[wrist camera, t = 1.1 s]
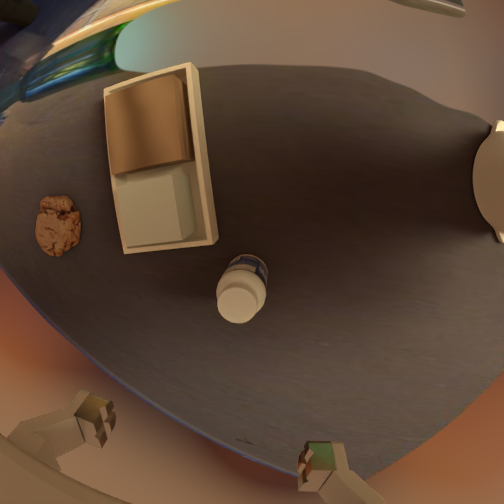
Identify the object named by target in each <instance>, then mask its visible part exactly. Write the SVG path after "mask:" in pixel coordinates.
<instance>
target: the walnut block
mask: <svg viewBox="0 0 504 504" xmlns="http://www.w3.org/2000/svg"><path fill="white" fill-rule="evenodd" d="M105 105H106V123H107V136H108V147H109V156H110V165H111V173H112V175H118V174H132V173H136V172H141V171H145V170H150V169H155V168H159V167H164V166H169V165H174V164H180V163H185V162H191V161H195V155H194V146H193V138H192V129H191V121H190V111H189V102H188V92H187V85H186V84H184V83H183V82H182V81H181V80H180V79H178V78H177V77H176V76H175V75H174V74H172V75H169V76H165V77H161V78H158V79H154V80H151V81H148V82H144V83H141V84H138V85H135V86H132V87H129V88H126V89H123V90H120V91H117V92H115V93H112V94H109V95H107V96H105Z"/></svg>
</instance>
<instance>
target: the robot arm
mask: <svg viewBox="0 0 504 504" xmlns="http://www.w3.org/2000/svg"><path fill="white" fill-rule="evenodd" d="M473 189H474V195H475V199H476V202H477V205H478V208H479V210H480V212H481V214H482V215H483V217H484V218H485V220H486V221H487V222H488V223H489V224H490V225H491V226H492V227H493V228H494V230H495V233H496V235H497V238H498V240H499V241H500V242H501V243H504V121H501V120H496V121H495V122H494V124H493V126H492V130H491V133H490V135H489V136H488V137H487V138H486V139H485V140H484V141H483V143H482V144H481V145H480V147H479V149H478V151H477V154H476V157H475V161H474V166H473ZM113 407H114V406H113V402H112V401H110V400H107V399H105V398H102V397H100V396H98V395H95V394H93V393H90V392H88V391H86V390H83V389H81V390H80V391H78V393H77V394H76V395H75V396H74V398H73V399H72V400H71V401H70V403H69V404H68V405H67V406H66V408H65V409H64V410H61V409H60V410H57V411H54V412H51V413H48V414H45V415H42V416H38V417H35V418H32V419H28V420H25V421H21V422H20V423H19V424H18V426H16V428H15V429H14V430H13V431H12V432H11V433H10V435H9V436H8V437H7V438H6V437H5V436H3V435H2V434H1V433H0V504H131V503H128V502H125V501H123V500H120V499H118V498H115V497H113V496H110V495H108V494H105V493H103V492H100V491H98V490H96V489H94V488H91V487H89V486H87V485H85V484H83V483H81V482H79V481H77V480H75V479H73V478H71V477H69V476H66V475H65V474H63V473H61V472H60V470H61V468H60V466H59V464H58V462H57V460H56V459H55V458H57V457H59V456H61V455H63V454H65V453H67V452H69V451H71V450H73V449H75V448H77V447H79V446H81V445H82V444H84V443H85V442H86V443H88V444H91V445H93V446H96V447H98V448H101V449H102V448H103V446H104V444H105V443H106V441H107V439H108V438H107V435H106V434H108V433H111V432H112V430H113V429H114V426H115V422H116V416H115V413H114V412H113V410H112V409H113ZM297 470H298V472H299V473H300V476H299V478H298V490H299V491H317V492H318V493H319V495H320V496H321V497H322V498H323V500H324V501H325V502H326V504H386V500H385V499H383V498H382V497H381V496H380V495H379V494H378V493H377V492H375V491H374V490H373V489H372V488H371V487H370V486H369V485H367V484H366V483H365V482H364V481H363V480H362V479H361V478H360V477H359V476H358V475H357V474H356V473H354V472H353V471H352V470H349V468H348V463H347V459H346V454H345V449H344V445H343V443H342V442H330V441H306V442H305V444H304V450H303V451H301V453H300V455H299V458H298V464H297Z"/></svg>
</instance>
